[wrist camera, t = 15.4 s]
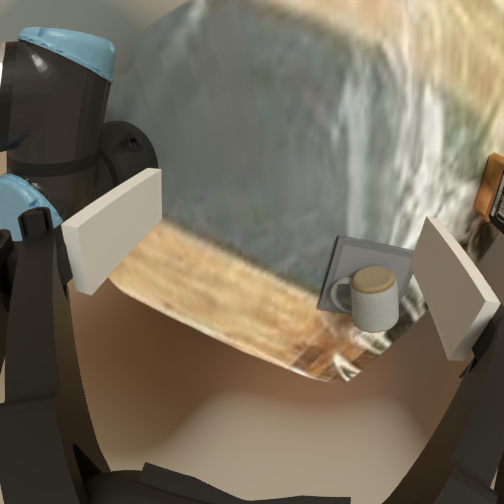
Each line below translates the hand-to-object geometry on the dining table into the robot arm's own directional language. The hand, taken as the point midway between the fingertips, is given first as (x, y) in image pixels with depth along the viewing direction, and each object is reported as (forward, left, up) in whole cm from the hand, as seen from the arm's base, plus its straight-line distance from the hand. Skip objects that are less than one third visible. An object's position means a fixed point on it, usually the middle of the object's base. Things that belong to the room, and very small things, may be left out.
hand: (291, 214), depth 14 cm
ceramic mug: (+14, -22, -28) cm, 38 cm away
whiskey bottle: (+34, 0, -29) cm, 45 cm away
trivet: (+15, -21, -29) cm, 39 cm away
